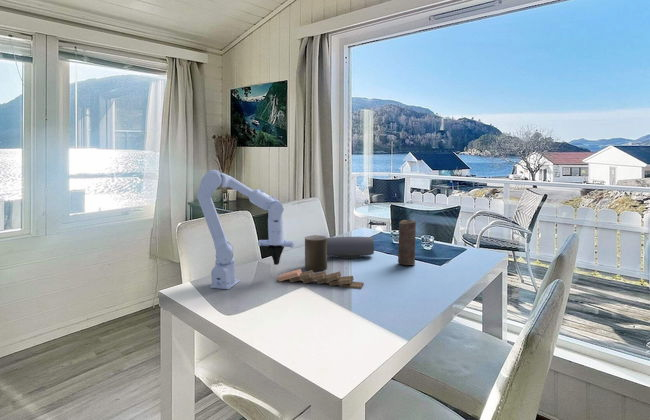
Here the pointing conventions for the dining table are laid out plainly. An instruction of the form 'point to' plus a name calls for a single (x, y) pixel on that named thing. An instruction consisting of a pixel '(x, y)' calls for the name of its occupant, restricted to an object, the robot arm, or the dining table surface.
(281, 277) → the domino
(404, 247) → the brown wooden cylinder
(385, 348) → the dining table surface
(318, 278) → the domino
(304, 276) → the domino
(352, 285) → the domino
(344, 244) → the bluetooth speaker
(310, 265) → the pillar candle
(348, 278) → the domino
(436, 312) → the dining table surface
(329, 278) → the domino
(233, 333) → the dining table surface
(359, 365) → the dining table surface
